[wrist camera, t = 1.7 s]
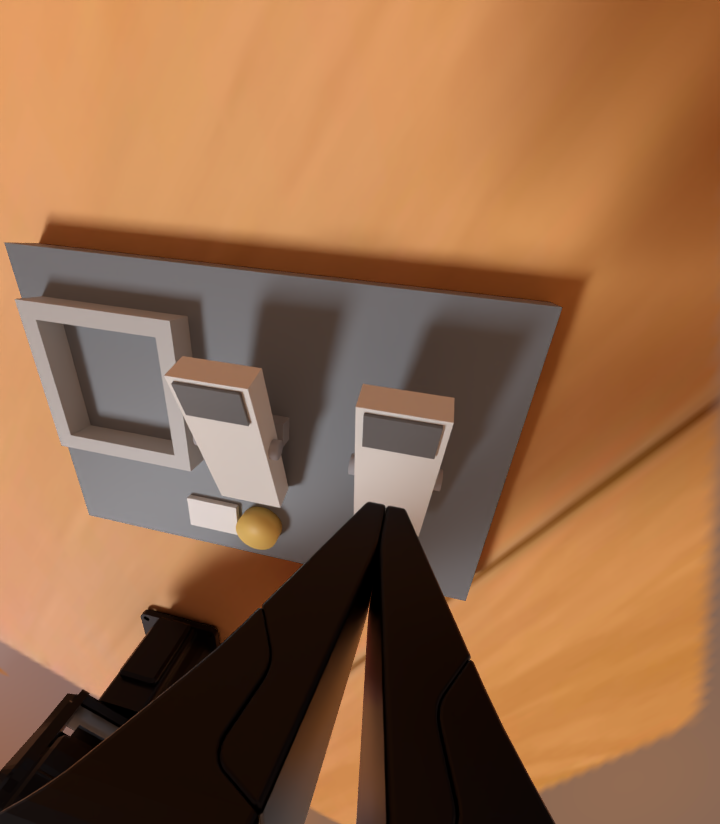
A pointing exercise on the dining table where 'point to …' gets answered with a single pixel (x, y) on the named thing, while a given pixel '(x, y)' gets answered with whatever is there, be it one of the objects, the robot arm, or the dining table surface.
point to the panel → (273, 390)
